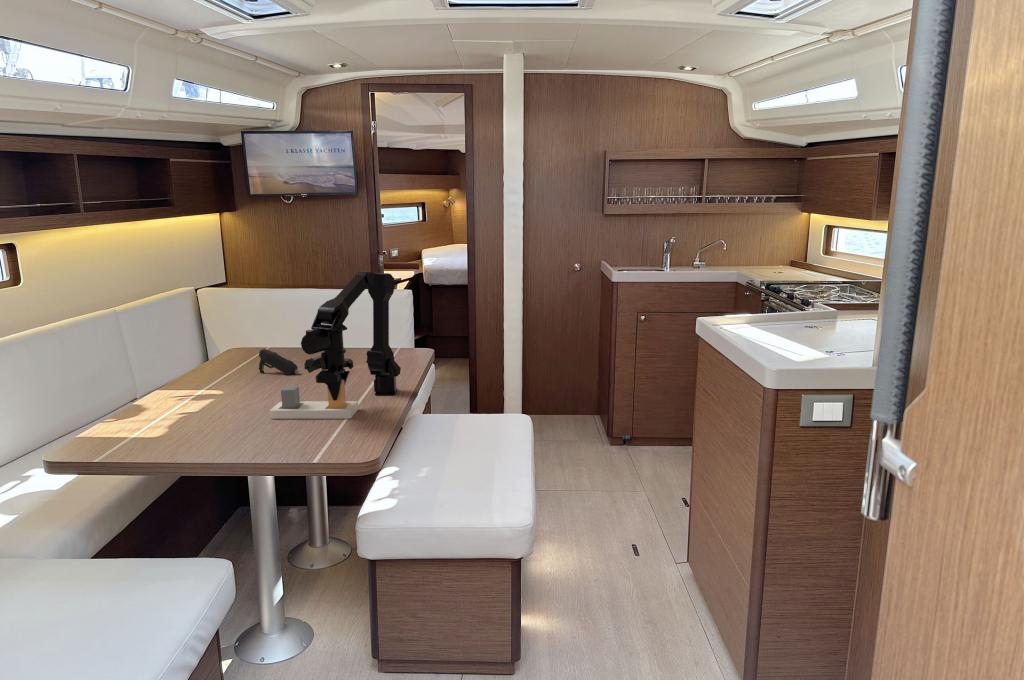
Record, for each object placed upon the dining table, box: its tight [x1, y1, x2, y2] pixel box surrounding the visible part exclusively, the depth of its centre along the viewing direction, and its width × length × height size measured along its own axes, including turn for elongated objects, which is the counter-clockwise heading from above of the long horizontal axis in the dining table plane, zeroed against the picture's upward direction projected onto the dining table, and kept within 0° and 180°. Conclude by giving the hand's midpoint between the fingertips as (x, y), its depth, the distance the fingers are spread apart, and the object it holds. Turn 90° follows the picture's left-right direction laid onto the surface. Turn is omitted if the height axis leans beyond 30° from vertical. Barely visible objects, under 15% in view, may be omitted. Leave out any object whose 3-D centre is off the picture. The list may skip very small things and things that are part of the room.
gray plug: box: [280, 385, 301, 409], centre depth 206 cm, size 4×4×8 cm
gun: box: [258, 348, 300, 376], centre depth 253 cm, size 3×16×10 cm, turn 79°
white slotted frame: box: [268, 400, 359, 420], centre depth 207 cm, size 24×9×2 cm, turn 88°
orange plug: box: [326, 380, 347, 409], centre depth 206 cm, size 4×4×8 cm
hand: (337, 398), depth 206 cm, fingers closed on orange plug, 4 cm apart
